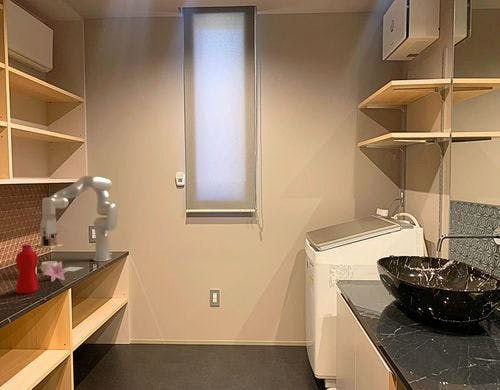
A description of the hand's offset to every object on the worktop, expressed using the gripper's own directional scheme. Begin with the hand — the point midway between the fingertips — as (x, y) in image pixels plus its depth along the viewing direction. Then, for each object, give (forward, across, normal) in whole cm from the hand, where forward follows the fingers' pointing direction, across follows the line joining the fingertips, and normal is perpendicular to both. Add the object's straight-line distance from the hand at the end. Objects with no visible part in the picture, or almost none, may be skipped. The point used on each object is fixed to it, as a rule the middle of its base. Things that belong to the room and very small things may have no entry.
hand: (49, 244), depth 256 cm
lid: (+1, 0, 0) cm, 1 cm away
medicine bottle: (+18, +16, -3) cm, 24 cm away
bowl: (+18, 0, 0) cm, 18 cm away
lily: (+18, +17, +18) cm, 30 cm away
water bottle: (+18, +42, +21) cm, 50 cm away
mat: (+18, -6, +11) cm, 22 cm away
